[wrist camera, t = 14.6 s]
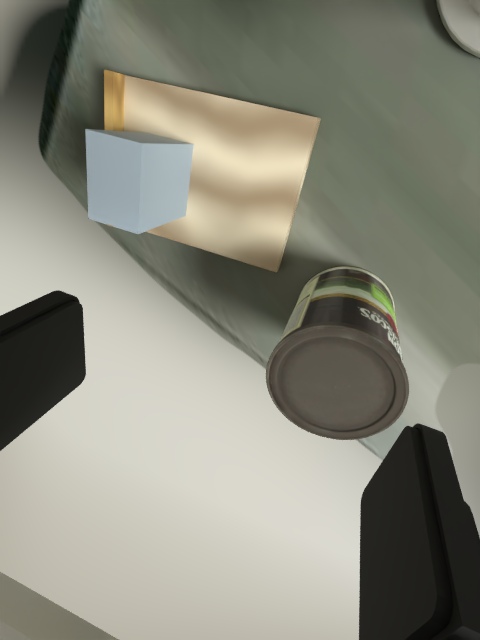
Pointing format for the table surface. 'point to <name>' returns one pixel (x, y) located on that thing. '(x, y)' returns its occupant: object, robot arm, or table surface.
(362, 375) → the coffee can
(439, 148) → the table surface
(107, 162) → the carton
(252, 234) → the shelf
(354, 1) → the table surface
